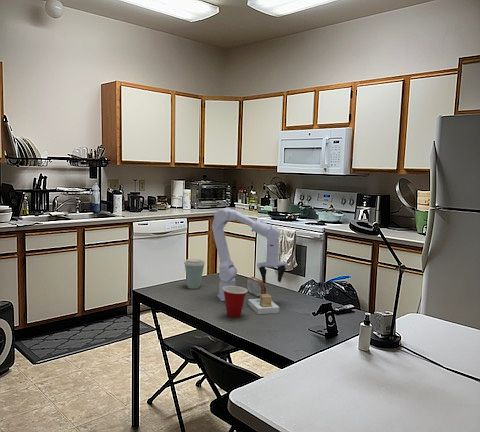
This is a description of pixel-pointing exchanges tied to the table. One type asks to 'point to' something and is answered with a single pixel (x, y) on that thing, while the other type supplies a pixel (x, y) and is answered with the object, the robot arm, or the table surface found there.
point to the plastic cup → (234, 300)
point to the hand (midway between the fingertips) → (271, 282)
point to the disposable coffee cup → (194, 272)
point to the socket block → (262, 310)
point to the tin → (256, 286)
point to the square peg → (265, 300)
